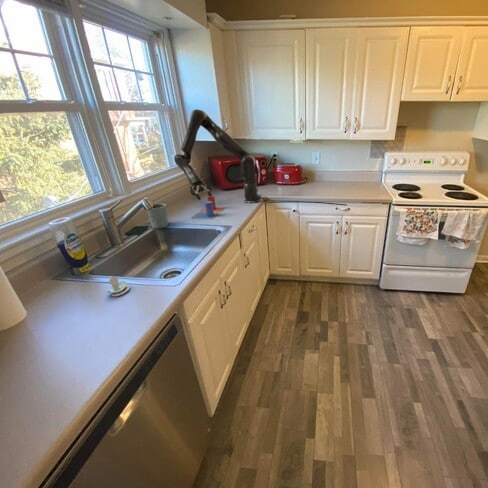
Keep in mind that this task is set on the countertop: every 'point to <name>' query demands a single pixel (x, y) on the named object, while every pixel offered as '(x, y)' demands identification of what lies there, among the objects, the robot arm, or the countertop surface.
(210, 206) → the blue upright cylinder
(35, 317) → the countertop surface
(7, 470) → the countertop surface
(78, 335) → the countertop surface
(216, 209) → the terracotta mat
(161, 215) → the grey-green cylindrical pot
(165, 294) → the countertop surface
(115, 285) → the pacifier
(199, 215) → the blue mat
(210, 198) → the red upright cylinder
